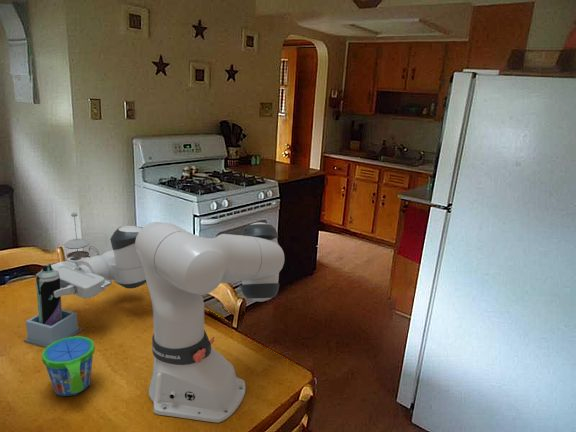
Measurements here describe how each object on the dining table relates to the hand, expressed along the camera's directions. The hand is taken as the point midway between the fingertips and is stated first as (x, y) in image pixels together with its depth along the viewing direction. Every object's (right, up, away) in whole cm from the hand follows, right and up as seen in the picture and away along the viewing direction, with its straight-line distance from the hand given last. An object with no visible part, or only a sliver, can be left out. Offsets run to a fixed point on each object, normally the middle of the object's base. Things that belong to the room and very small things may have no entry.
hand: (45, 291), depth 111 cm
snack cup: (+14, -20, -14) cm, 28 cm away
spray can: (-1, -13, +4) cm, 13 cm away
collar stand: (0, -13, +5) cm, 14 cm away
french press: (-9, -3, +38) cm, 40 cm away
